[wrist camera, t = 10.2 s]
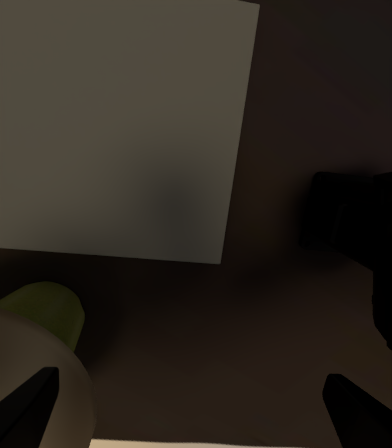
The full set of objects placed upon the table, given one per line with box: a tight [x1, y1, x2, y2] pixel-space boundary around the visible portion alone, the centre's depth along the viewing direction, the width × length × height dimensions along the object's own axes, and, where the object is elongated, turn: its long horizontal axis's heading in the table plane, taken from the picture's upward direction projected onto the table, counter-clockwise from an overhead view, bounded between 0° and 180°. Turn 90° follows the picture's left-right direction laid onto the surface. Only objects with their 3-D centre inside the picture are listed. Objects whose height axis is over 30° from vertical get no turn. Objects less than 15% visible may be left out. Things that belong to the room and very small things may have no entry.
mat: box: [0, 0, 260, 264], centre depth 18 cm, size 18×18×1 cm
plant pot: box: [0, 281, 85, 353], centre depth 17 cm, size 9×9×9 cm
